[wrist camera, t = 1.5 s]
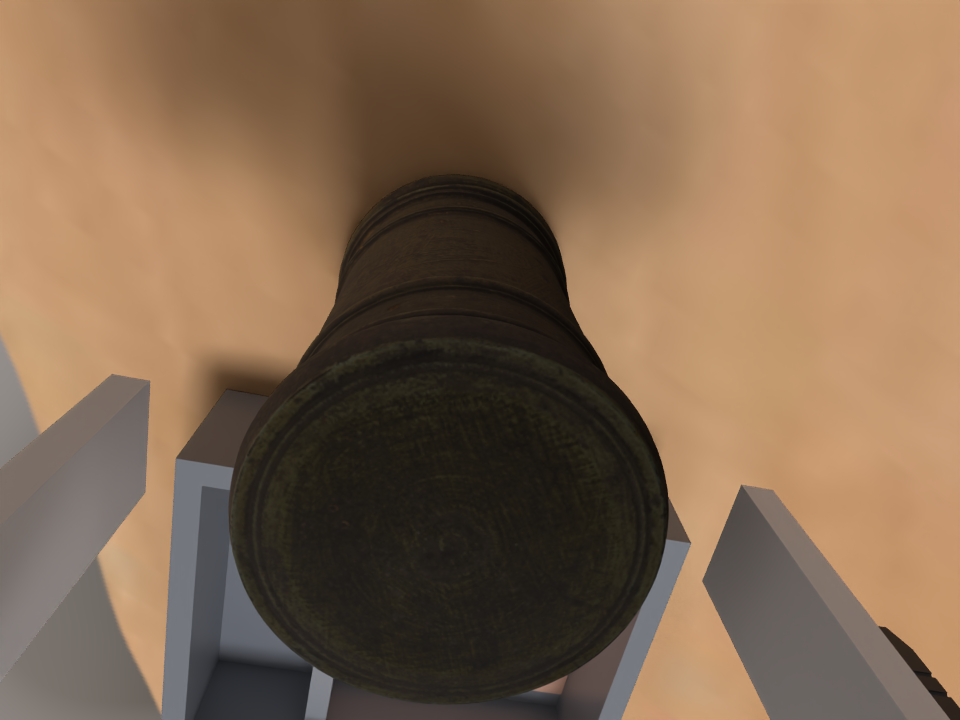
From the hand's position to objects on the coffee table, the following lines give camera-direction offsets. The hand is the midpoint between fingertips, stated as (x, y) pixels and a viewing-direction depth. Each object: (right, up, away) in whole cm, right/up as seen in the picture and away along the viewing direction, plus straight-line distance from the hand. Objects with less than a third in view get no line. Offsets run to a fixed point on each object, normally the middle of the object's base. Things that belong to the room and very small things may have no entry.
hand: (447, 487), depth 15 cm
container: (0, +6, +14) cm, 16 cm away
